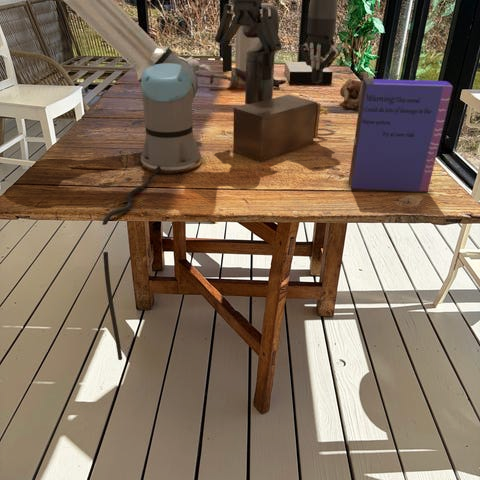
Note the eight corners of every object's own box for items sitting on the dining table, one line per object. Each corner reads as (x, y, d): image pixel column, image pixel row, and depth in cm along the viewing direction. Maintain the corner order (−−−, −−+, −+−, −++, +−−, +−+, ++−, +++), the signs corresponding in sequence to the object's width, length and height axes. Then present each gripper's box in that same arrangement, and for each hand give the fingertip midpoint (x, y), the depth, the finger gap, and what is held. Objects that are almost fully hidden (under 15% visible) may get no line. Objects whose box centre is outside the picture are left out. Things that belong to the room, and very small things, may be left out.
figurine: (210, 87, 179) (288, 95, 182) (212, 65, 176) (291, 73, 180) (208, 84, 201) (278, 91, 205) (210, 64, 198) (280, 71, 202)
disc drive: (289, 84, 198) (290, 71, 196) (284, 72, 218) (284, 61, 215) (331, 84, 199) (332, 72, 196) (322, 72, 218) (323, 61, 215)
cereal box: (422, 183, 114) (445, 80, 101) (427, 192, 110) (453, 85, 97) (348, 180, 115) (363, 77, 102) (351, 189, 111) (366, 83, 98)
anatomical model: (349, 110, 180) (352, 112, 166) (333, 93, 179) (334, 95, 165) (374, 84, 176) (379, 84, 162) (358, 67, 175) (361, 66, 161)
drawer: (305, 126, 148) (308, 93, 143) (329, 133, 142) (333, 100, 137) (244, 144, 133) (245, 109, 127) (268, 154, 127) (270, 117, 122)
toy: (163, 81, 199) (162, 64, 196) (139, 70, 217) (137, 54, 213) (213, 75, 211) (213, 58, 207) (186, 64, 229) (186, 49, 225)
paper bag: (273, 76, 210) (276, 6, 196) (239, 77, 209) (240, 6, 194) (266, 67, 226) (268, 2, 212) (235, 67, 225) (235, 1, 210)
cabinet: (285, 134, 144) (288, 94, 138) (313, 143, 137) (317, 102, 131) (233, 150, 131) (233, 107, 125) (260, 161, 125) (262, 116, 119)
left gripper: (300, -15, 109) (293, 80, 120) (221, -20, 123) (221, 66, 134) (280, -14, 104) (274, 85, 115) (200, -19, 118) (202, 70, 129)
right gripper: (351, 17, 125) (343, 84, 134) (312, 12, 133) (307, 76, 142) (333, 19, 121) (326, 89, 130) (294, 14, 129) (290, 80, 138)
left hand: (246, 75), depth 125 cm, fingers open, 13 cm apart
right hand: (316, 82), depth 136 cm, fingers closed
